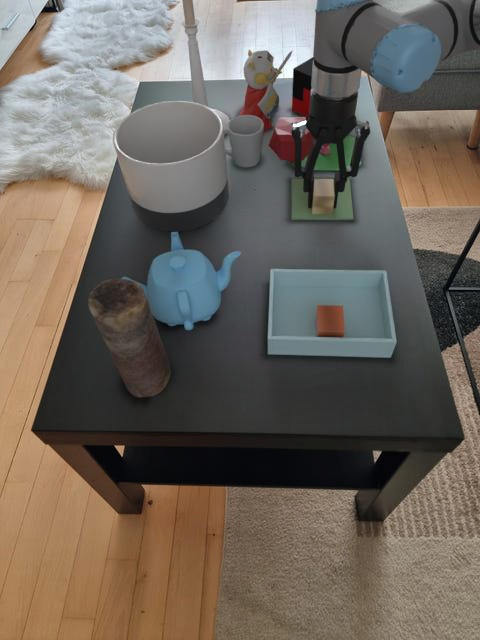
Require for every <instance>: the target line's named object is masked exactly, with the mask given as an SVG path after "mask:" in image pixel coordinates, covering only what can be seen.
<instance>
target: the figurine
mask: <svg viewBox="0 0 480 640" xmlns="http://www.w3.org/2000/svg"><path fill="white" fill-rule="evenodd" d="M292 54H293V50H291V51H289V53H288V54H287V55H286V57H285V58H284V59H283V61H282V63H281V64H280V65H279V67H278V68H277V67H275V66H274V60H275V59H274V56H273V55H272V53H270V51H269V50H268V49H267V50H266V49H265V50H264V49H263V50H257V51H252V50H251V49H248V51H247V55H248V57H247V58H246V60H245V62H244V66H243V77H244V80H245V82H246V84H247V85H246V86H247V87H246V91H245V96H244V105H243V108H242V110H240V112H239V115H238V116H241V115H253V116H256V117H259V118H260V119H261V120H262V121H263V123H264V129H263V131H266V130H269V129H273V125H272V123H271V118H272V117H273V116H274V115H275V114H276V113H277V112H278V110H279V107H280V96H279V94H278V93H277V91H276V89H275V88H274V84H275V82H276V81H277V79H278V77H279V75H281V74H283V71H282V70H283V69H284V67H285V66H286V64H287V62H288V61H289V60H290V58H291V57H292Z"/></svg>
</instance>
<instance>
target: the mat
mask: <svg viewBox="0 0 480 640" xmlns="http://www.w3.org/2000/svg"><path fill="white" fill-rule="evenodd" d="M332 179H333V180H334V178H332ZM350 179H351V178H347V181H346V183H345V189H344V191H343V192H338V199H337V206H336V208H333V213H332V214H312V208H308V192H304V191H303V181H304V179H303V178H291V207H290V208H291V209H290V211H291V214H290V215H291V216H290V219H291V221H292V220H293V221H354V219H355V218H354V210H353V209H354V208H353V199H352V189H351V180H350Z"/></svg>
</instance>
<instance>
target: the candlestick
mask: <svg viewBox="0 0 480 640" xmlns="http://www.w3.org/2000/svg"><path fill="white" fill-rule="evenodd" d="M181 1H182V9H183V15H184V20H183V21H181V26H182V27H184V34H185V35H187V38H188V41H187V45H188V57H189V69H190V80H191V92H192V102H193V103H198V104H201V105H204V106H206V107H208V108H210V106H209V102H208V95H207V91H206V85H205V78H204V72H203V67H202V60H201V59H202V58H201V54H200V48H199V41H198V39H197V34H198V32H199V29H198V25H199V24H200V20H199V19H196V17H195V8H194V0H181ZM210 109H211V110H213V111H214V112H215V113H216V114H217V115H218V116H219V117H220V119H221V121H222V123H223V128H224V127H226V126H227V125H228V123H229V121H230V120H231V119H230V118H229V116H228V115H227V114H226V113H224V112H223V111H221V110H218V109H215V108H210ZM225 135H227V133H224V136H225Z"/></svg>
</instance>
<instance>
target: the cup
mask: <svg viewBox="0 0 480 640" xmlns="http://www.w3.org/2000/svg"><path fill="white" fill-rule="evenodd" d="M229 120H230V121H229V123H228V125H227V126H226V127H224V128H223V130H224V133H226V135H228V139H229V143H230V149H229V148H227V147H225V153H226V156H229V157H231V158H233V160H234V163H235V164H236V166H239V167H241V168H251V167H254V166H257V165H258V164H259V163H260V161H261V155H262V149H263V141H264V139H263V138H264V130H263V129H264V123H263V121H262V120H261V119H260V118H259V117H256V116H253V115H241V116H239V115H237V116H235V117H233V118H231V119H229Z"/></svg>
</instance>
